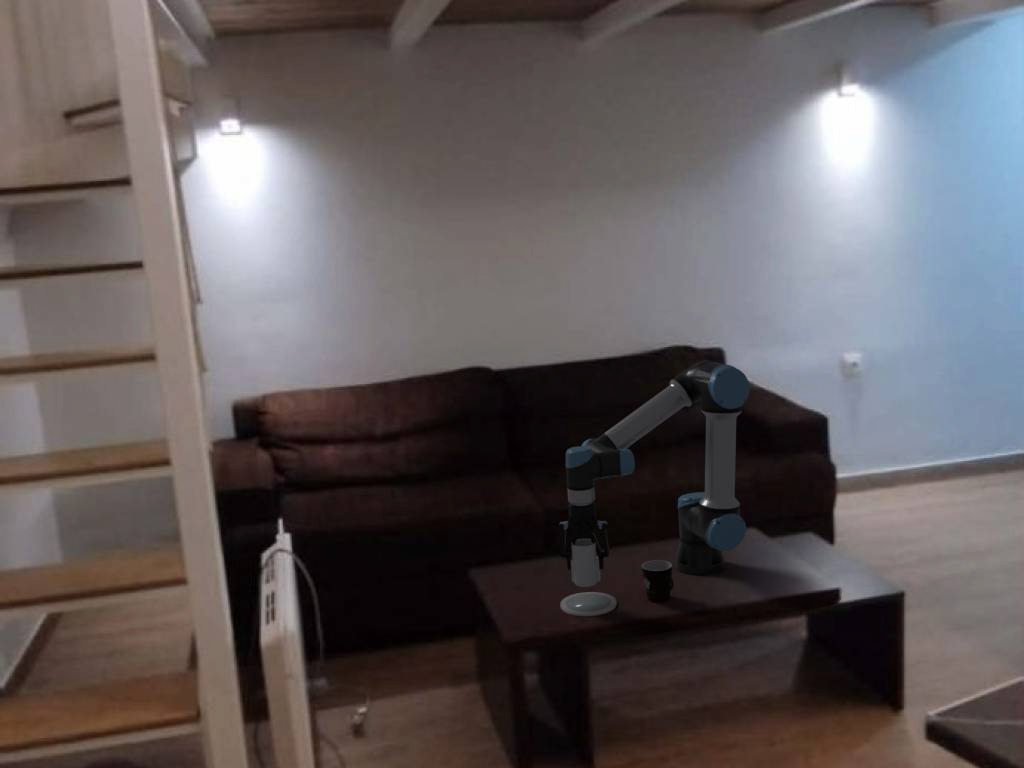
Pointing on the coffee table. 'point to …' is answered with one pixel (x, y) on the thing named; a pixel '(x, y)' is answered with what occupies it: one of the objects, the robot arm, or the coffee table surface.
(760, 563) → the coffee table surface
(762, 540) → the coffee table surface
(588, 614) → the plate
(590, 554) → the mug
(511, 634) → the coffee table surface
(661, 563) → the coffee mug
